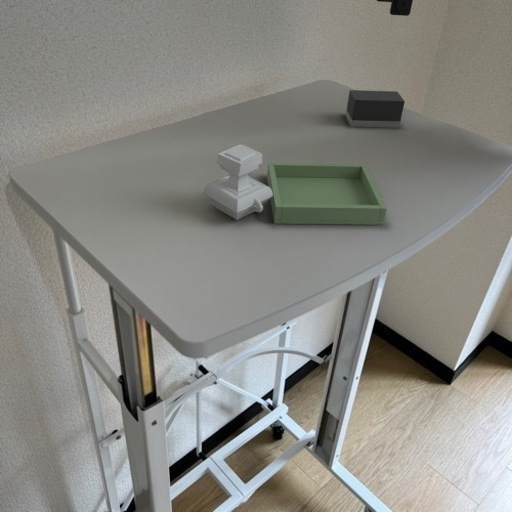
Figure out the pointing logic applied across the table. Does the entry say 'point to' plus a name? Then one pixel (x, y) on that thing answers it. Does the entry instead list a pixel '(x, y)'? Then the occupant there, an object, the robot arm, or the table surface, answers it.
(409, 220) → the table surface
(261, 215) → the table surface
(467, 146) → the table surface
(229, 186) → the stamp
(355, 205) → the tray
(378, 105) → the eraser
